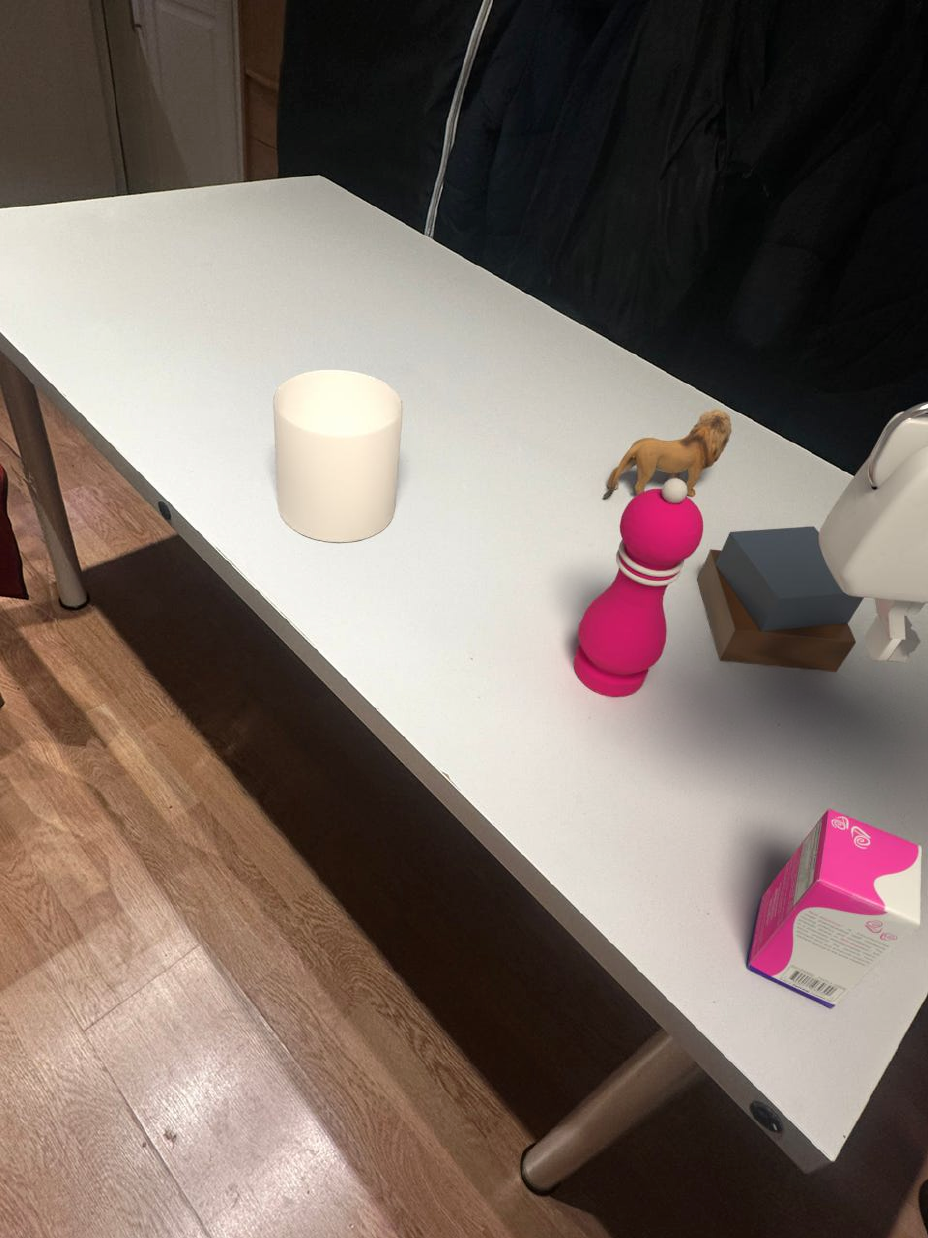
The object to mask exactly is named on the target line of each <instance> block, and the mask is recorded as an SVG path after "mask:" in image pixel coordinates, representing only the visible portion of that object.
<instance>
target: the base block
mask: <svg viewBox="0 0 928 1238" xmlns="http://www.w3.org/2000/svg"><path fill="white" fill-rule="evenodd" d="M721 551H722V549H709V551H708V554H707V556H706V558H705V561H704V563H703V566H702V568H701V570H700V573H699V575H698V577H697V579H696V580H697V584H698V587H699V591H700V595H701V599H702V603H703V605H704V610H705V613H706V617H707V621H708V624H709V627H710V631H711V634H712V638H713V640H714V644H715V648H716V651H717V655H718V660H719V661H720V662H721V661H723V662H730V663H731V662H732V663H740V664H751V665H762V666H773V667H783V668H791V669H792V668H793V669H801V670H811V671H822V672H833V673H837V672H838V671H839V669H840V667H841V666H842V665H843V663H844V662H845V660H846V658H847V657H848V655H850V652H851V651H852V650H853V648H854V646H855V645H856V644H857V640H856V639H855V636H854V634H853V631H852V630H851V626H850V625H849V622H848V623H844V624H835V625H825V626H815V627H805V628H795V629H786V630H776V631H766V632H761V631H760V629H759V628H758V626H757V625H756V623H755V622H754V621H753V619H752V618H751V616H750V615H749V613H748V612H747V610H746V609H745V607H744V606H743V604H742V603H741V601H740V600H739V598H738V597H737V596H736V594H735V593H734V591H733V590H732V588H731V587H730V585H729V584H728V582H727V581H726V579H725V578H724V576H723V575H722V574H721V572H720V571H719V569H718V568H717V566H716V562H717V560H718V558H719V555H720V553H721Z"/></svg>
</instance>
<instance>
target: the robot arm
mask: <svg viewBox="0 0 928 1238" xmlns="http://www.w3.org/2000/svg"><path fill="white" fill-rule="evenodd" d="M861 465H862V466H861V467H860V468H859V469H858V470H857V472H856V473H855V474H854V476H853V477H852V479H851V480H850V481H849V483H848V484H847V486H846V487H845V489H844V490H843V491H842V492H841V495H840V496H839V497H838V499H837V501H836V502H835V504H834V505H833V506H832V508H831V510H830V511H829V513H828V515H827V517H826V518H825V520H824V521H823V524H822V525H821V528H820V530H819V531H818V532H819V546H820V549H821V552H822V555H823V557H824V559H825V562H826V564H827V566H828V568H829V570H830V572H831V574H832V575H833V577H834V579H835V580H836V582H837V584H838V585H839V587H840V588H841V590H842V591H843V592H844V593H846V594H847V595H850V596H855V597H864V598H865V599H874V605H875V611H876V614H877V615H876V617H875V618H874V619H873V621H872V623H871V624H870V626H869V627H868V630H867V631H866V632H865V636H864V644H865V646H866V648H867V651H868V652H869V653H868V654H869V655H870V657H871V659H872V660H874V661H880V662H891V663H892V662H893V663H905V662H908V660H909V659H910V654H911V653H912V652H915V651H916V649H917V648H918V646H919V645H920V643H921V639H920V637H919V635H918V634H917V631H916V630H914V629H913V628H912V626H913V625H912V623H911V621H910V619H909V618H908V615H910V616H916V615H918V614H919V613H920V612H921V610H922V609H923V607H924V606H925V605H926V604H928V401H925V402H921V403H919V404H915V405H914V406H912V407H910V408H908V409H906V410H904V411H901V412H898V413H896V414H895V415H894V416H893V417H892V418H891V419H890V420H889V421H888V422H887V424H886V425H885V426H884V428H883V430H882V432H881V434H880V436H879V438H878V439H877V442H876V443H875V445H874V447H873V449H872V450H871V452H870V454H869V456H868V458H867V459H866V460H865V462H864V463H863V464H861ZM905 614H907V615H905Z"/></svg>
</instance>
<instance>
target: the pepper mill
mask: <svg viewBox="0 0 928 1238" xmlns="http://www.w3.org/2000/svg"><path fill="white" fill-rule="evenodd" d="M687 491H688V490H687V486H686V482H685V481H683V480H682V479H680V478H679V479H677V478H673V479H670V480H669V479H668V480H666V481H665V482H664V484H663V485H662V487H661V488H650V489H646V490H644V492H642V493H640V494H638V495H637V494H636V495H635V496H634V497H633V498H632V499H631V500H630V501H629V502H628V503H627V504H626V507H625V508H624V510H623V512H622V514H621V517H620V522H619V533H620V537H621V540H620V542H619V545H618V550H617V551H616V554H615V563H616V564H617V566H618V570H617V572H616V575H615V578H614V580H613V581H612V583H611V584H610V585H609V586H608V587H607V588H606V589H605V590H604V591H603V592H601V593H600V594H599V595H598V596H597V597H596V598H594V600H592V602H591V603H590V604H589V605H588V606H587V608H586V609H585V611H584V613H583V614H582V617H581V619H580V622H579V624H578V630H577V637H578V641H579V644H578V647H577V649H576V652H575V656H574V658H573V667H574V671H575V674H576V676H577V677H578V679H579V680H580V681H581V682H582V683H583V685H585V686H586V687H587V688H588V689H590V690H592V691H593V692H595V693H598V694H600V695H603V696H608V697H613V698H618V697H620V698H621V697H622V698H623V697H627V696H630V695H633V694H635V693H636V692H637V691H639V690H640V689H641V688H642V686H643V685H644V682H645V681H646V678H647V676H648V672H649V670H650V668H652V667H653V666H654V665H655V664H656V663H657V662H658V661H659V660H660V658H661V657H662V655H663V652H664V649H665V645H666V643H667V633H668V632H667V631H668V629H667V620H666V614H665V609H664V597H665V593H666V590H667V588H668V586H669V585H670V584H672V583H673V582H675V581H676V580H678V578H679V577H680V575H681V571H682V569H683V568H684V566H685V561H686V560H687V559H688V558H690V557H691V556H692V555H693V554H694V553H695V552H696V550H697V549H698V547H699V546H700V544H701V541H702V538H703V533H704V520H703V515H702V512H701V511H700V508H699V507H698V505H697V504H696V503H695V502H694V501H693V500H692V499H691V498H690V497H688V495H687Z"/></svg>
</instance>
